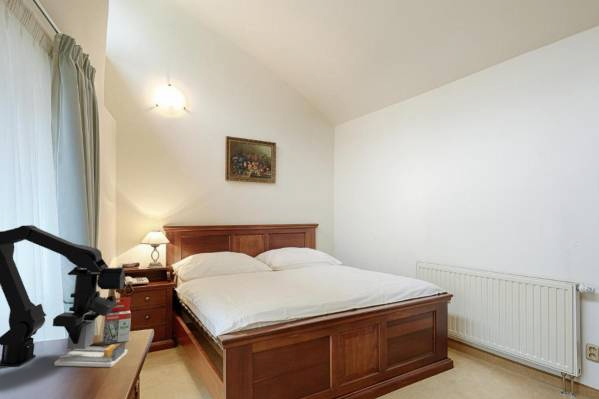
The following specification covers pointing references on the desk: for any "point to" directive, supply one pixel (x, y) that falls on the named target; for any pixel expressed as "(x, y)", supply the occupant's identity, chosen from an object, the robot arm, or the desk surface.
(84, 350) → the rail plate
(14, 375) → the desk surface
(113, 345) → the bar
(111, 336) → the ink box
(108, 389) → the desk surface
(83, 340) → the block
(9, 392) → the desk surface
